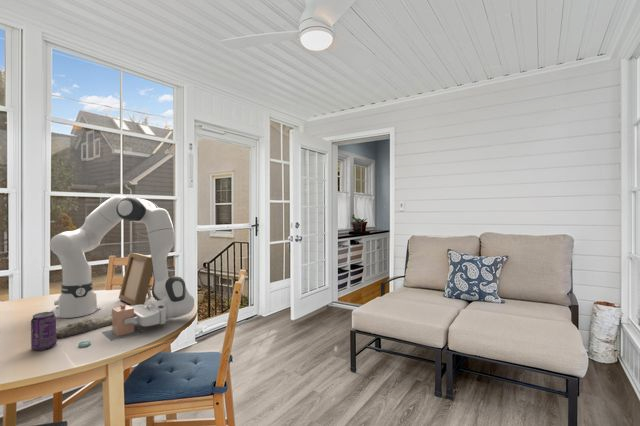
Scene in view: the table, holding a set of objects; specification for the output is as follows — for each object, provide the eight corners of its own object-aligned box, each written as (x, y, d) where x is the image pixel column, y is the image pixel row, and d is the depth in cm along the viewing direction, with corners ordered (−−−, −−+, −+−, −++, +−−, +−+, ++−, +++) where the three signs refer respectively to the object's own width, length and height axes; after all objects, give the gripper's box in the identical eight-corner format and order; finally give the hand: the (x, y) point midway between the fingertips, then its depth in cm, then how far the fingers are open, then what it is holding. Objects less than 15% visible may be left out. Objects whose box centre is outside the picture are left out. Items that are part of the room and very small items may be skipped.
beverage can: (40, 343, 127) (40, 311, 127) (61, 343, 128) (60, 311, 127) (25, 351, 120) (25, 317, 120) (47, 351, 121) (47, 317, 120)
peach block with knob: (112, 332, 137) (112, 305, 137) (128, 328, 142) (128, 302, 141) (117, 336, 133) (117, 308, 133) (133, 332, 138) (133, 305, 137)
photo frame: (134, 308, 169) (135, 258, 169) (118, 300, 183) (119, 253, 183) (164, 302, 180) (165, 255, 180) (147, 295, 195) (147, 251, 194)
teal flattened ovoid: (77, 347, 124) (77, 343, 124) (88, 344, 127) (88, 340, 127) (79, 350, 122) (79, 345, 122) (91, 347, 125) (91, 342, 125)
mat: (101, 333, 137) (101, 332, 137) (133, 326, 146) (133, 324, 146) (111, 342, 129) (111, 340, 129) (144, 333, 138) (144, 332, 138)
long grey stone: (143, 321, 156) (131, 318, 162) (143, 309, 157) (131, 307, 162) (52, 343, 127) (40, 338, 132) (52, 328, 127) (41, 324, 132)
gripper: (146, 299, 154) (111, 305, 144) (166, 309, 140) (129, 317, 130) (146, 313, 154) (111, 320, 144) (166, 324, 140) (129, 333, 130)
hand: (120, 319), depth 137 cm, fingers closed on peach block with knob, 6 cm apart
